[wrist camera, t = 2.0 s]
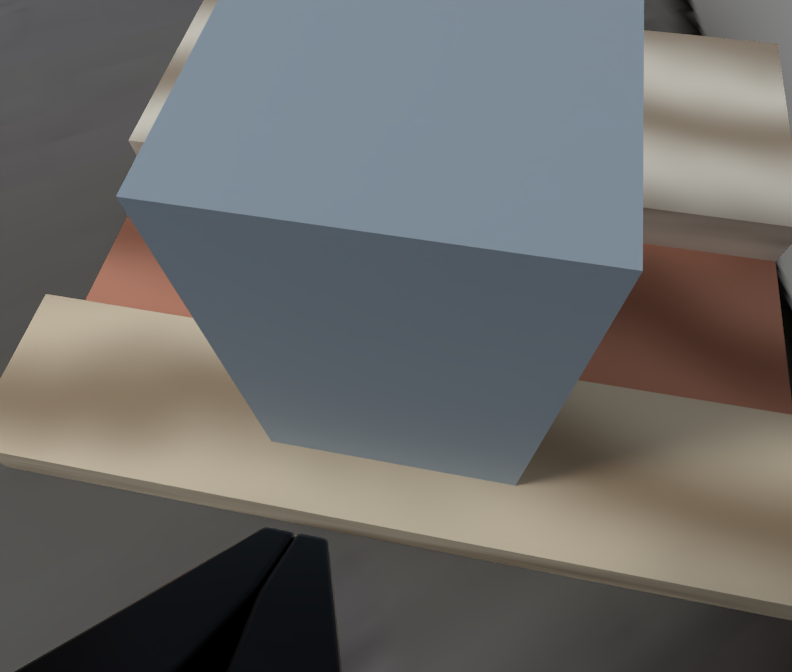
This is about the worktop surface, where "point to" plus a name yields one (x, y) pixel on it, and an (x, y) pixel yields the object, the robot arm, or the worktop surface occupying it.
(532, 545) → the trap board
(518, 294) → the slate block
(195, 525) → the worktop surface
